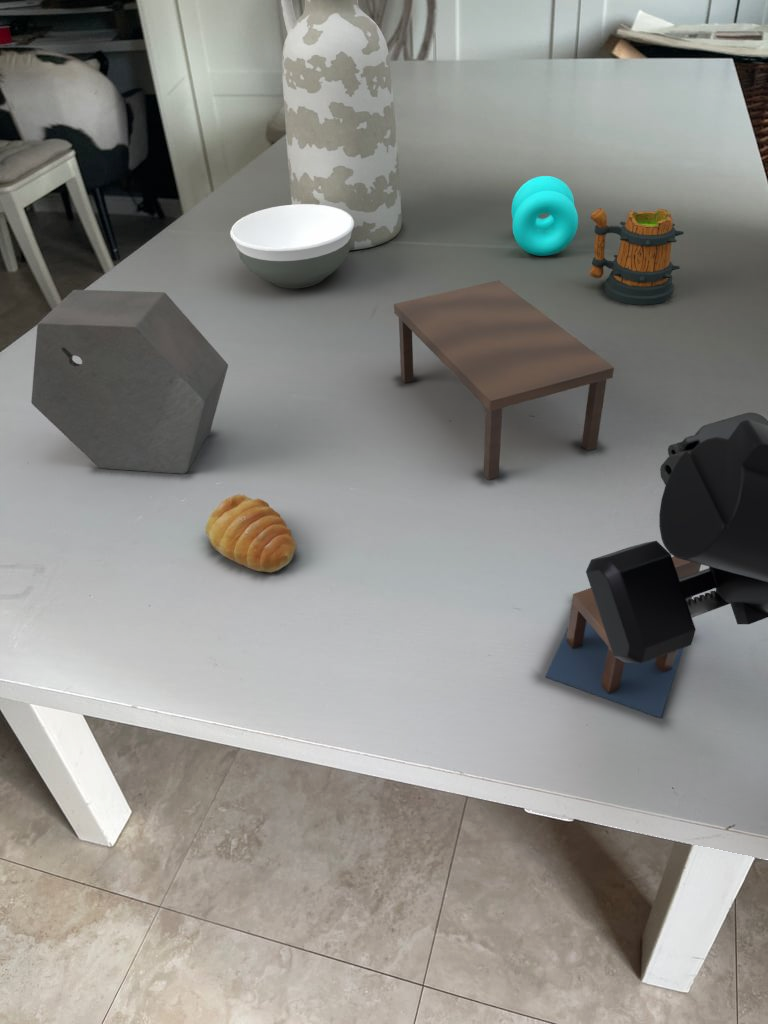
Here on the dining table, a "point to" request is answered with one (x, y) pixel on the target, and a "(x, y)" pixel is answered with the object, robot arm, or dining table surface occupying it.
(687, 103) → the dining table surface
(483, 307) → the side table
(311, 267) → the bowl
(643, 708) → the mat
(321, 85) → the vase
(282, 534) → the pastry
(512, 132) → the dining table surface
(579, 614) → the chair
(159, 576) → the dining table surface
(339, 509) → the dining table surface
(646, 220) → the mug
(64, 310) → the grey hexagonal prism
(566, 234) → the donuts
